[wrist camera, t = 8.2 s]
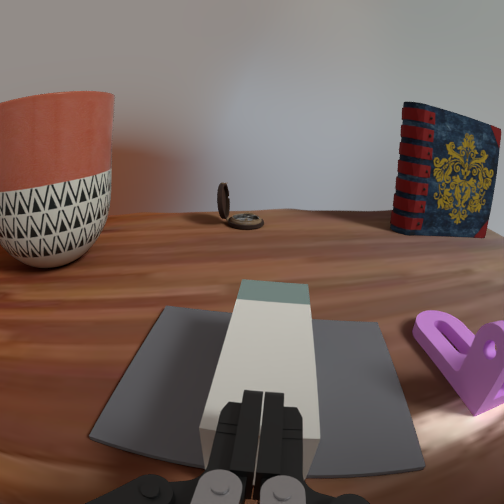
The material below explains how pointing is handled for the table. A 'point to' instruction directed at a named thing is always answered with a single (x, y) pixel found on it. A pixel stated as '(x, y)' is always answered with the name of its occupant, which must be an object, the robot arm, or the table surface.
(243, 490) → the robot arm
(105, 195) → the planter
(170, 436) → the rubber mat
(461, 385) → the bracket
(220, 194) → the compass
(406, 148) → the book
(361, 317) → the table surface
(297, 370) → the tall block
